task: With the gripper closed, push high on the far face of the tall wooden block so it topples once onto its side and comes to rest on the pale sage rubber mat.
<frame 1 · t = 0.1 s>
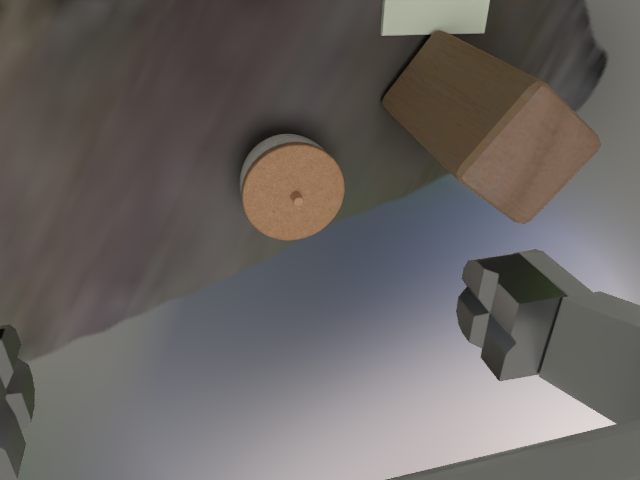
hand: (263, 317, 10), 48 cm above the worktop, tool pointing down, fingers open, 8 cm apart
lidded jar: (279, 165, 61), on the worktop
wooden block: (433, 88, 61), on the worktop, touching mat
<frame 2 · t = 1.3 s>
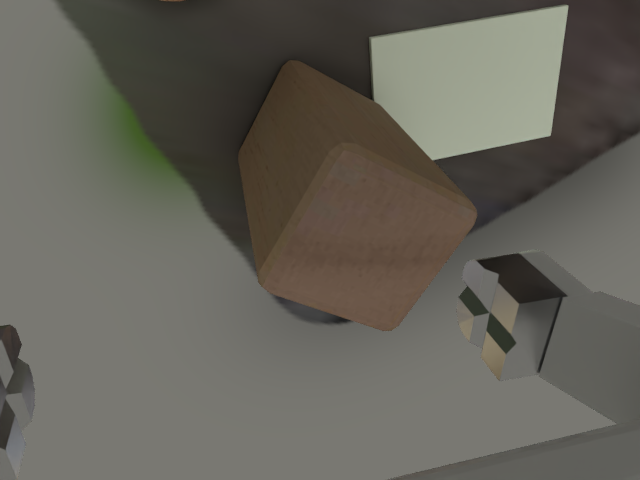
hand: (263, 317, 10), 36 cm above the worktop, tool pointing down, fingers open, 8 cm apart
wooden block: (309, 130, 47), on the worktop, touching mat
mat: (466, 89, 49), on the worktop
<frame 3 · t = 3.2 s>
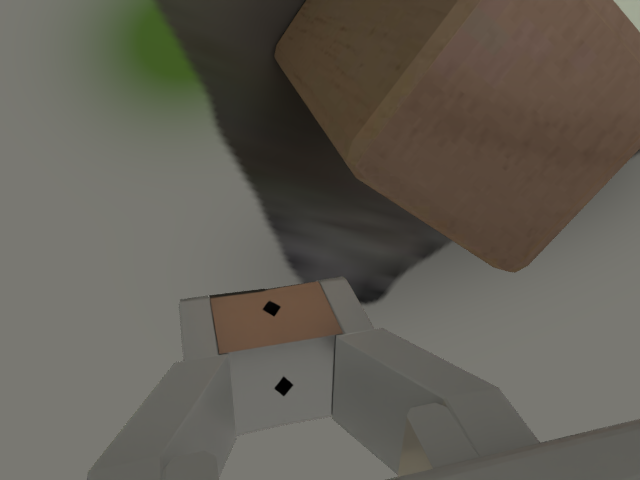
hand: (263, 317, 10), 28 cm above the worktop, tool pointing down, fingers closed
wooden block: (367, 34, 36), on the worktop, touching mat
mat: (559, 15, 39), on the worktop
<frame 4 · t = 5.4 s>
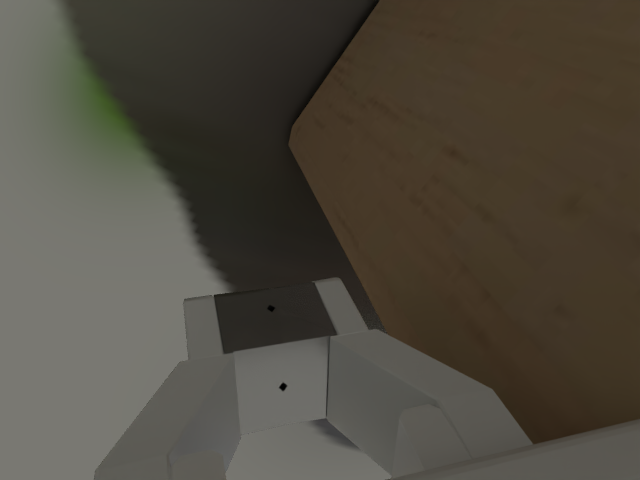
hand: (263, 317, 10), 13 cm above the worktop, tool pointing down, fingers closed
wooden block: (434, 101, 23), on the worktop, touching gripper, mat
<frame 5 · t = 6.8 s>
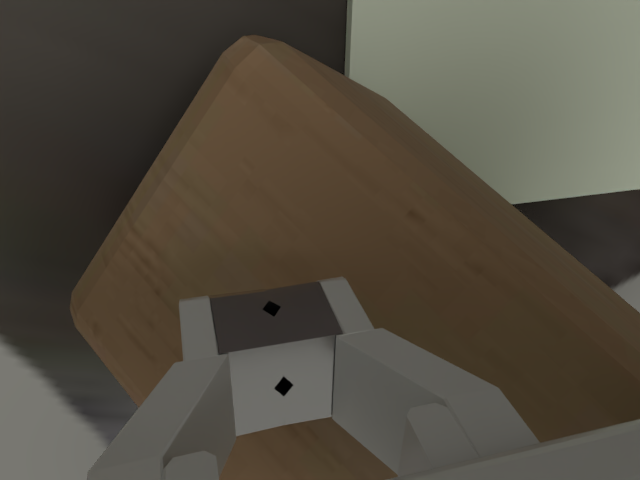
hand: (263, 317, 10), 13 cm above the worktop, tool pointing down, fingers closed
wooden block: (231, 177, 18), point 4 cm above the worktop, touching mat
mat: (537, 75, 24), on the worktop
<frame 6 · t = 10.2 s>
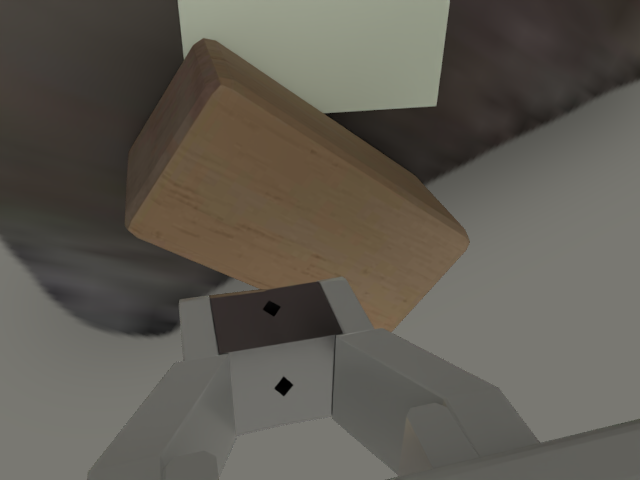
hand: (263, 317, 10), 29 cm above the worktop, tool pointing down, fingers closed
wooden block: (158, 121, 30), point 6 cm above the worktop, touching mat
mat: (319, 21, 35), on the worktop
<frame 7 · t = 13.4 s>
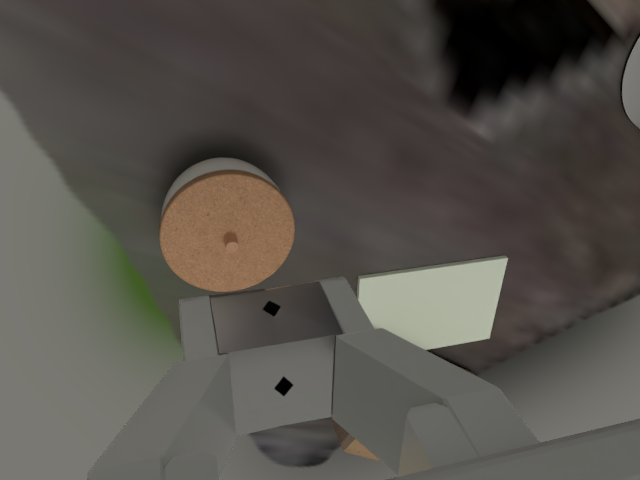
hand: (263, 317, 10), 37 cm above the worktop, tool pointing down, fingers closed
lidded jar: (219, 195, 49), on the worktop
wooden block: (352, 386, 58), point 6 cm above the worktop, touching mat
mat: (427, 308, 63), on the worktop
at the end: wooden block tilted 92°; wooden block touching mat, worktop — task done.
